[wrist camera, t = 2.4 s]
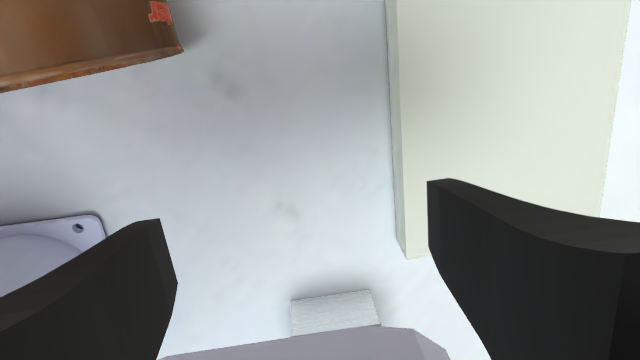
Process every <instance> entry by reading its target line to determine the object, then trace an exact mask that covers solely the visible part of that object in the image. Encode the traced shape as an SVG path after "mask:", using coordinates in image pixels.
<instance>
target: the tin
mask: <svg viewBox="0 0 640 360" xmlns="http://www.w3.org/2000/svg"><path fill="white" fill-rule="evenodd" d="M183 51H184V50H183V47H182V46H180V44H179V41H178V38H177V35H176V32H175V29H174V25H173V21H172V17H171V14H170V10H169V7H168V4H167V2H166V0H0V93H3V92H8V91H13V90H18V89H22V88H27V87H32V86H37V85H41V84H47V83H52V82H56V81H61V80H66V79H71V78H76V77H81V76H86V75H91V74H95V73H100V72H104V71H109V70H114V69H119V68H124V67H127V66H131V65H136V64H141V63H146V62H150V61H154V60H158V59H162V58H167V57H170V56H174V55H177V54H180V53H182V52H183Z"/></svg>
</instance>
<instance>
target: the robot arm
mask: <svg viewBox="0 0 640 360" xmlns="http://www.w3.org/2000/svg"><path fill="white" fill-rule="evenodd" d="M427 218H428V247H429V250H430V252H431V255H432V257H433V260H434V262H435V264H436V266H437V269H438V271H439V273H440V275H441V277H442V279H443V280H444V282H445V284H446V285H447V287H448V288H449V290H450V292H451V293H452V295H453V296H454V298H455V300H456V301H457V303H458V304H459V306H460V308H461V309H462V311H463V312H464V314H465V315H466V317H467V319H468V320H469V322H470V323H471V325H472V326H473V328H474V330H475V331H476V333H477V334H478V336H479V338H480V339H481V341H482V343H483V345H484V346H485V348H486V350H487V352H488V353H489V356H490V358H491V360H640V223H639V222H630V221H622V220H614V219H606V218H599V217H592V216H586V215H581V214H576V213H571V212H566V211H561V210H556V209H552V208H548V207H544V206H540V205H536V204H533V203H529V202H526V201H522V200H519V199H516V198H512V197H509V196H506V195H503V194H500V193H497V192H494V191H491V190H488V189H485V188H482V187H479V186H477V185H474V184H471V183H468V182H464V181H461V180H457V179H452V178H445V179H438V180H431V181H427ZM76 224H80V225H82V226H83V229H79V228H77V226H76ZM177 285H178V282H177V279H176V275H175V271H174V268H173V264H172V261H171V257H170V254H169V250H168V247H167V243H166V239H165V236H164V232H163V229H162V225H161V222H160V218H158V219H151V220H144V221H137V222H134V223H132V224H129V225H127V226H126V227H124V228H122V229H120V230H118V231H117V232H115V233H113V234H112V235H110V236H108V237H107V238H106V236H105V233H104V230H103V227H102V224H101V222H100V220H99V219H98V218H97V217H96V216H93V215H83V216H75V217H68V218H60V219H52V220H45V221H37V222H30V223H22V224H14V225H7V226H0V360H156V358H157V356H158V353H159V350H160V347H161V345H162V342H163V339H164V336H165V333H166V330H167V328H168V325H169V322H170V319H171V316H172V312H173V307H174V302H175V296H176V291H177ZM159 360H450V358H449V356H448V354H447V352H446V350H445V349H444V348H442V347H441V346H439V345H437V344H436V343H434V342H433V341H431V340H430V339H428V338H426V337H425V336H423V335H422V334H420V333H419V332H417V331H415V330H414V329H407V328H391V327H376V326H364V327H358V328H351V329H344V330H338V331H331V332H324V333H318V334H311V335H305V336H298V337H291V338H285V339H278V340H271V341H265V342H258V343H252V344H245V345H238V346H232V347H225V348H218V349H212V350H205V351H199V352H192V353H185V354H179V355H172V356H167V357H164V358H162V359H159Z"/></svg>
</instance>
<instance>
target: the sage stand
mask: <svg viewBox="0 0 640 360" xmlns="http://www.w3.org/2000/svg"><path fill="white" fill-rule="evenodd" d="M385 2H386V23H387V44H388V65H389V86H390V107H391V128H392V149H393V170H394V191H395V212H396V233H397V242H398V244H399V246H400V248H401V250H402V252H403V254H404V256H405V258H406V260H408V259H416V258H423V257H430V256H432V255H431V252H430V250H429V247H428V218H427V181H431V180H438V179H445V178H452V179H457V180H461V181H464V182H468V183H471V184H474V185H477V186H479V187H482V188H485V189H488V190H491V191H494V192H497V193H500V194H503V195H506V196H509V197H512V198H516V199H519V200H522V201H526V202H529V203H533V204H536V205H540V206H544V207H548V208H552V209H556V210H561V211H566V212H571V213H576V214H581V215H586V216H592V217H600V210H601V203H602V196H603V189H604V182H605V176H606V169H607V162H608V155H609V148H610V141H611V134H612V128H613V121H614V114H615V107H616V100H617V93H618V86H619V80H620V73H621V66H622V59H623V52H624V45H625V39H626V32H627V25H628V18H629V11H630V4H631V0H385Z"/></svg>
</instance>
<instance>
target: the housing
mask: <svg viewBox="0 0 640 360" xmlns="http://www.w3.org/2000/svg"><path fill="white" fill-rule="evenodd" d="M290 312H291V337H298V336H305V335H311V334H318V333H324V332H331V331H338V330H344V329H351V328H358V327H364V326H376V327H381V324H380V321H379V317H378V314H377V311H376V308H375V305H374V302H373V298H372V295H371V292H370V289H369V290H362V291H355V292H348V293H340V294H333V295H326V296H319V297H312V298H305V299H298V300H291V301H290Z"/></svg>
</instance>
